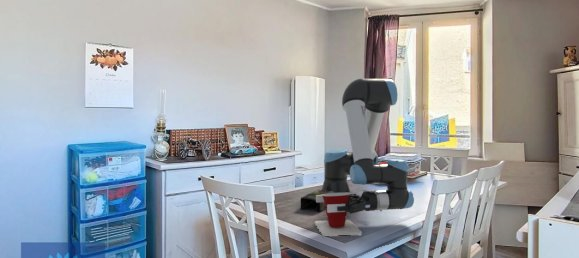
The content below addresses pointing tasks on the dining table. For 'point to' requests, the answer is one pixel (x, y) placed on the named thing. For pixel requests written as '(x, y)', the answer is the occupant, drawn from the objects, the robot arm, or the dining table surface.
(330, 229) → the cream tile
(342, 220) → the plastic cup
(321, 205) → the olive boxy piece
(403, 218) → the dining table surface
